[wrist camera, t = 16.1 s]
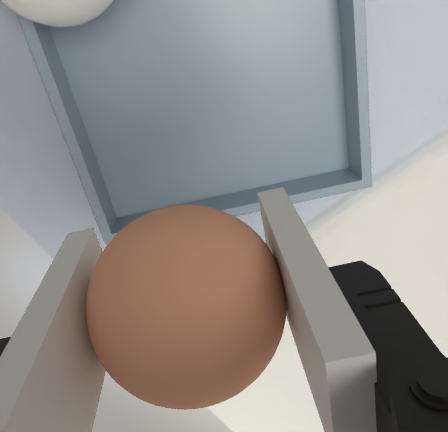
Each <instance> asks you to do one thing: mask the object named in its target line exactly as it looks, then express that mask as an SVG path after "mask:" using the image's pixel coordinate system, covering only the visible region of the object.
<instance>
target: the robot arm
mask: <svg viewBox="0 0 448 432" xmlns="http://www.w3.org/2000/svg"><path fill="white" fill-rule="evenodd" d="M258 199H259V204H260V210H261V215H262V221H263V227H264V232H265V238H266V244H267V246H268V247H269V249H270V250H271V252H272V254H273V255H274V257H275V259H276V261H277V263H278V267H279V270H280V273H281V277H282V281H283V286H284V291H285V296H286V316H287V319H288V322H289V325H290V328H291V331H292V334H293V337H294V340H295V343H296V346H297V349H298V352H299V355H300V358H301V361H302V364H303V367H304V370H305V373H306V376H307V379H308V383H309V386H310V389H311V392H312V395H313V398H314V401H315V404H316V407H317V410H318V413H319V416H320V419H321V422H322V425H323V428H324V431H325V432H448V358H446V357H445V356H444V355H443V354H442V353H441V352H440V351H439V349H438V348H437V347H436V345H435V344H434V343H433V341H432V340H431V339H430V337H429V336H428V335H427V333H426V332H425V331H424V329H423V328H422V327H421V325H420V324H419V323H418V321H417V320H416V319H415V318H414V316H413V315H412V314H411V312H410V311H409V310H408V308H407V307H406V306H405V304H404V303H403V302H401V300H400V298H399V296H398V295H397V294H396V292H395V291H394V290H393V289H391V286H390V284H389V283H388V282H387V280H386V279H385V278H384V277H383V275H382V274H381V273H380V271H378V270H377V269H375V268H373V267H371V266H370V265H368V264H366V263H364V262H363V261H357V262H352V263H347V264H343V265H338V266H333V267H329V268H328V267H327V265H326V263H325V261H324V259H323V258H322V256H321V254H320V252H319V250H318V249H317V247H316V245H315V243H314V242H313V240H312V238H311V236H310V234H309V233H308V231H307V229H306V227H305V226H304V224H303V222H302V220H301V218H300V217H299V215H298V213H297V211H296V209H295V208H294V206H293V204H292V202H291V201H290V199H289V197H288V195H287V193H286V192H285V190H284V188H283V187H281V188H277V189H272V190H267V191H263V192H258ZM101 254H102V249H101V247H100V244H99V242H98V239H97V236H96V234H95V231H94V229H93V228H92V229H87V230H83V231H78V232H74V233H69V234H68V235H67V237H66V239H65V240H64V242H63V244H62V246H61V248H60V249H59V251H58V253H57V255H56V257H55V258H54V260H53V262H52V264H51V266H50V268H49V269H48V271H47V273H46V275H45V277H44V278H43V280H42V282H41V284H40V286H39V288H38V289H37V291H36V293H35V295H34V297H33V298H32V300H31V302H30V304H29V306H28V307H27V309H26V311H25V313H24V315H23V316H22V318H21V320H20V322H19V324H18V326H17V327H16V329H15V331H14V333H13V335H12V337H8V338H3V339H0V432H92V428H93V424H94V419H95V415H96V411H97V406H98V402H99V398H100V394H101V389H102V385H103V381H104V376H105V372H106V369H105V368H104V367H103V365H102V364H101V362H100V361H99V359H98V357H97V355H96V353H95V351H94V348H93V346H92V343H91V340H90V337H89V332H88V327H87V321H86V296H87V290H88V285H89V281H90V278H91V275H92V272H93V269H94V267H95V265H96V263H97V261H98V259H99V257H100V255H101Z"/></svg>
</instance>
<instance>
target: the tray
mask: <svg viewBox="0 0 448 432" xmlns="http://www.w3.org/2000/svg"><path fill="white" fill-rule="evenodd" d="M17 16H18V19H19V21H20V24H21V26H22V29H23V32H24V34H25V37H26V39H27V42H28V45H29V47H30V50H31V52H32V55H33V58H34V60H35V63H36V65H37V68H38V71H39V73H40V76H41V78H42V81H43V84H44V86H45V89H46V91H47V94H48V97H49V99H50V102H51V104H52V107H53V110H54V112H55V115H56V117H57V120H58V123H59V125H60V128H61V130H62V133H63V136H64V138H65V141H66V143H67V146H68V149H69V151H70V154H71V156H72V159H73V162H74V164H75V167H76V169H77V172H78V175H79V177H80V180H81V182H82V185H83V188H84V190H85V193H86V195H87V198H88V201H89V203H90V206H91V208H92V211H93V214H94V216H95V219H96V221H97V224H98V227H99V229H100V232H101V234H102V237H103V240H104V242H105V244H109V242H110V241H111V240H112V239H113V238H114V237H115V236H116V235H117V234H118V233H119V232H120V231H121V230H122V229H123V228H125V227H126V226H127V225H128V224H130V223H131V222H133V221H134V220H136V219H138V218H140V217H141V216H143V215H145V214H148V213H150V212H152V211H155V210H158V209H161V208H165V207H170V206H176V205H200V206H206V207H211V208H215V209H218V210H221V211H224V212H226V213H228V214H230V215H232V216H239V215H243V214H248V213H253V212H257V211H261V210H260V204H259V199H258V192H263V191H267V190H272V189H277V188H281V187H283V188H284V190H285V192H286V193H287V195H288V197H289V199H290V201H291V202H292V204H294V203H299V202H304V201H308V200H313V199H317V198H322V197H327V196H331V195H336V194H341V193H345V192H350V191H355V190H359V189H364V188H368V187H372V172H371V146H370V120H369V95H368V69H367V43H366V17H365V0H114V1H113V3H112V4H111V5H110V6H109V7H108V8H107V9H106V10H105V11H104V12H103V13H102V14H101V15H99V16H98V17H96V18H95V19H93V20H91V21H89V22H87V23H84V24H81V25H77V26H72V27H52V26H46V25H42V24H39V23H36V22H33V21H31V20H28V19H26V18H24V17H22V16H21V15H19V14H17Z"/></svg>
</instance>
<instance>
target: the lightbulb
mask: <svg viewBox="0 0 448 432" xmlns="http://www.w3.org/2000/svg"><path fill="white" fill-rule="evenodd" d="M0 1H2V2H3V3H4V4H5V5H6V6H7V7H9V8H10V9H11V10H13V11H14V12H16V13H17V14H19V15H21V16H22V17H24V18H26V19H28V20H31V21H33V22H36V23H39V24H42V25H46V26H52V27H72V26H77V25H81V24H84V23H87V22H89V21H91V20H93V19H95V18H96V17H98V16H99V15H101V14H102V13H103V12H104V11H105V10H106V9H107V8H108V7H109V6H110V5H111V4H112V3H113V1H114V0H0Z"/></svg>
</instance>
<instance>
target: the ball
mask: <svg viewBox="0 0 448 432" xmlns="http://www.w3.org/2000/svg"><path fill="white" fill-rule="evenodd" d="M285 319H286V296H285V291H284V286H283V281H282V277H281V273H280V270H279V267H278V263H277V261H276V259H275V257H274V255H273V254H272V252H271V250H270V249H269V247H268V246H267V244H266V243H265V242H264V241H263V240H262V239H261V237H260V236H259V235H258V234H257V233H256V232H255V231H254V230H253V229H252V228H251V227H249V226H248V225H247V224H245V223H244V222H242V221H241V220H239V219H238V218H236V217H234V216H232V215H230V214H228V213H226V212H224V211H221V210H218V209H215V208H211V207H206V206H200V205H176V206H170V207H165V208H161V209H158V210H155V211H152V212H150V213H148V214H145V215H143V216H141V217H140V218H138V219H136V220H134V221H133V222H131V223H130V224H128V225H127V226H126V227H125V228H123V229H122V230H121V231H120V232H119V233H118V234H117V235H116V236H115V237H114V238H113V239H112V240H111V241H110V242H109V244H108V245H107V246H106V248H105V249H104V250H103V252H102V254H101V255H100V257H99V259H98V261H97V263H96V265H95V267H94V269H93V272H92V275H91V278H90V281H89V285H88V290H87V296H86V321H87V327H88V332H89V337H90V340H91V343H92V346H93V348H94V351H95V353H96V355H97V357H98V359H99V361H100V362H101V364H102V365H103V367H104V368H105V369H106V371H107V372H108V373H109V375H110V376H111V377H112V378H113V379H114V380H115V381H116V382H117V383H118V384H119V385H120V386H121V387H123V388H124V389H125V390H127V391H128V392H129V393H131V394H132V395H134V396H136V397H137V398H139V399H141V400H143V401H146V402H148V403H151V404H154V405H157V406H162V407H166V408H172V409H197V408H203V407H207V406H211V405H215V404H217V403H220V402H223V401H225V400H227V399H229V398H232V397H233V396H235V395H237V394H238V393H240V392H241V391H242V390H244V389H245V388H246V387H248V386H249V385H250V384H251V383H253V382H254V381H255V380H256V379H257V378H258V377H259V376H260V374H261V373H262V372H263V370H264V369H265V368H266V366H267V365H268V364H269V362H270V361H271V359H272V357H273V356H274V354H275V352H276V349H277V347H278V345H279V342H280V340H281V337H282V333H283V329H284V325H285Z"/></svg>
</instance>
